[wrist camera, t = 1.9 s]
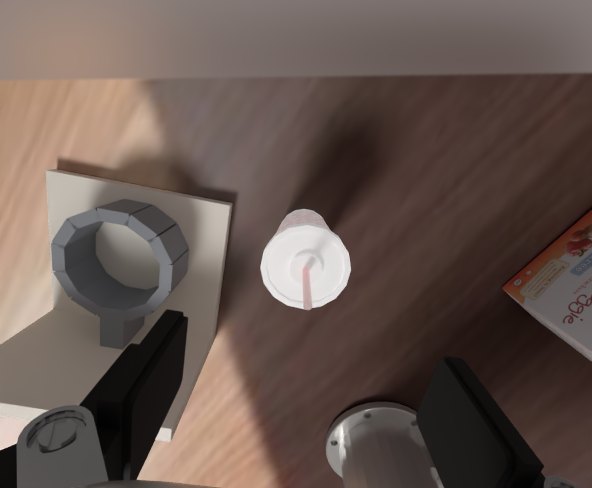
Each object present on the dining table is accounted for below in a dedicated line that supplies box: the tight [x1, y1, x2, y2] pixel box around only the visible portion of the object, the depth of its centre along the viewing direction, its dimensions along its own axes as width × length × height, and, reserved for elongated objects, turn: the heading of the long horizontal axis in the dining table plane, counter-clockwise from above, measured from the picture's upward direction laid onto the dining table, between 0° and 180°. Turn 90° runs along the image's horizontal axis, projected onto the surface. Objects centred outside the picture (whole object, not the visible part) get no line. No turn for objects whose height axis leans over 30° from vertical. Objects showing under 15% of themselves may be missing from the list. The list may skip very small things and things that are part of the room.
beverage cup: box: [260, 209, 351, 310], centre depth 23 cm, size 6×6×14 cm
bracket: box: [0, 169, 233, 442], centre depth 25 cm, size 16×15×12 cm
